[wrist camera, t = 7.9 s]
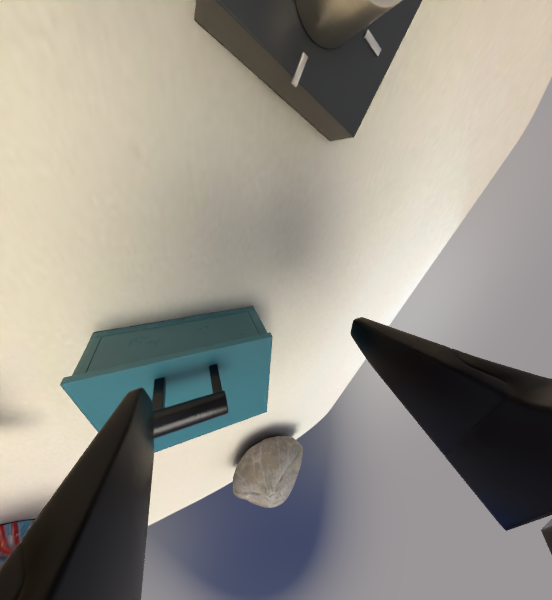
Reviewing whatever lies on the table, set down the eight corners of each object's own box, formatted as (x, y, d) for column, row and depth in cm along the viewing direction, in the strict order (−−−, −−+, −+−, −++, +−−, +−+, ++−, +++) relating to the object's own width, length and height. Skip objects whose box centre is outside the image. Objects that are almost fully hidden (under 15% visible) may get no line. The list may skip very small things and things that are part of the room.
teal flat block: (93, 332, 18) (68, 382, 14) (253, 306, 23) (269, 336, 19) (133, 406, 24) (124, 456, 20) (252, 372, 29) (265, 406, 25)
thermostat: (192, 27, 11) (196, -12, 9) (250, -249, 8) (281, -422, 6) (328, 145, 17) (353, 142, 15) (391, 8, 14) (436, -24, 12)
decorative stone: (251, 498, 43) (237, 569, 29) (228, 450, 46) (205, 492, 31) (310, 455, 45) (324, 501, 31) (285, 411, 48) (287, 434, 33)
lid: (63, 377, 13) (19, 458, 10) (270, 332, 18) (293, 374, 15) (124, 457, 20) (112, 524, 16) (265, 407, 25) (280, 449, 21)
